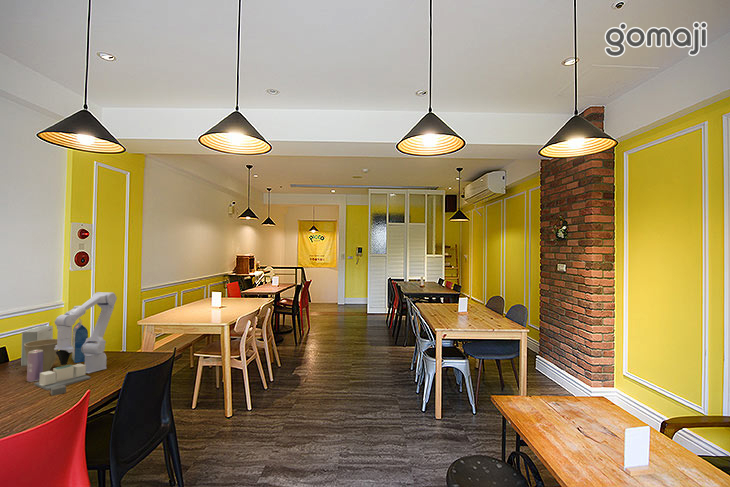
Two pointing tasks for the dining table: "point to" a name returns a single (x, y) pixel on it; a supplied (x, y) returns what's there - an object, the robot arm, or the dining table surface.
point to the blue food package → (79, 341)
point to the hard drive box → (35, 338)
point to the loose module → (63, 372)
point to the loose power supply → (58, 390)
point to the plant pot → (47, 348)
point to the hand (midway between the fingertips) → (63, 364)
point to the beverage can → (34, 365)
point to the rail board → (49, 380)
